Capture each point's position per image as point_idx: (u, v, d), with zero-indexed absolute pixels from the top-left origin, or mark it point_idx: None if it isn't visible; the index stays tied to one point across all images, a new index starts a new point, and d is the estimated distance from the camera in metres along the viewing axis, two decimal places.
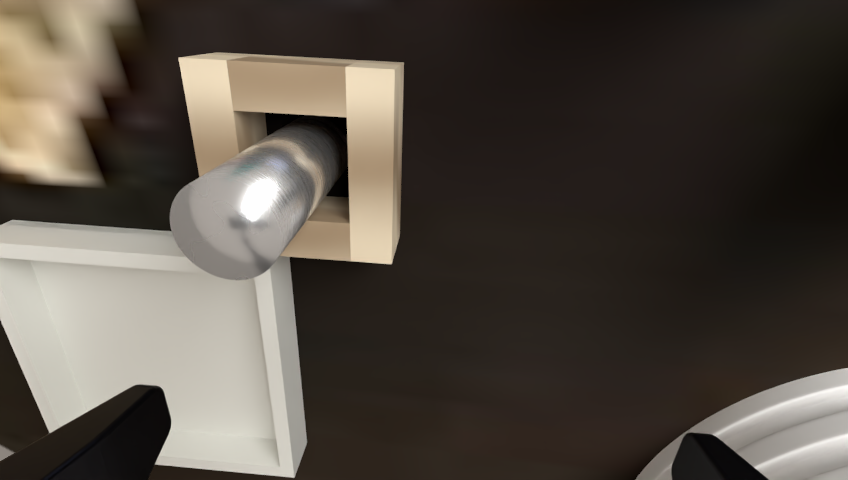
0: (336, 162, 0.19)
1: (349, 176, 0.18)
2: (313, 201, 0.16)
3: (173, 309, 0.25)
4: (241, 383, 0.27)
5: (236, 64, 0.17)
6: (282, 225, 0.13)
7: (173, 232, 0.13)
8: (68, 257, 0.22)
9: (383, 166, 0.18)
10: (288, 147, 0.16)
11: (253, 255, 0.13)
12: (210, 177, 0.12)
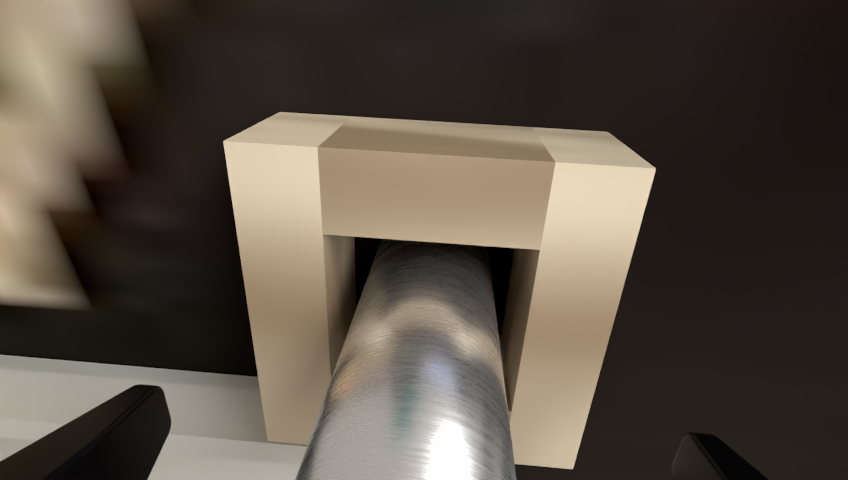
0: None
1: (525, 343, 0.10)
2: None
3: (194, 475, 0.17)
4: None
5: (336, 154, 0.09)
6: None
7: None
8: (30, 432, 0.13)
9: (592, 329, 0.10)
10: (457, 339, 0.08)
11: None
12: None
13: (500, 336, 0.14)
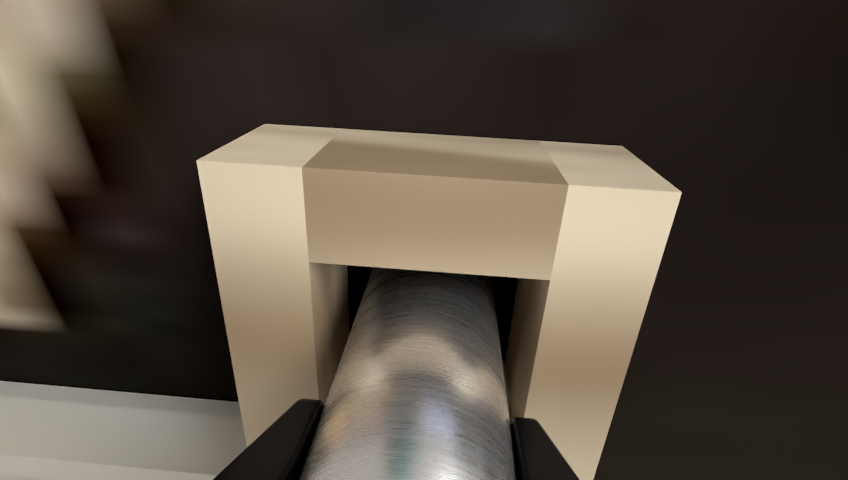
0: None
1: (533, 380, 0.09)
2: None
3: None
4: None
5: (323, 175, 0.08)
6: None
7: None
8: None
9: (607, 366, 0.09)
10: (458, 388, 0.07)
11: None
12: None
13: (504, 362, 0.13)
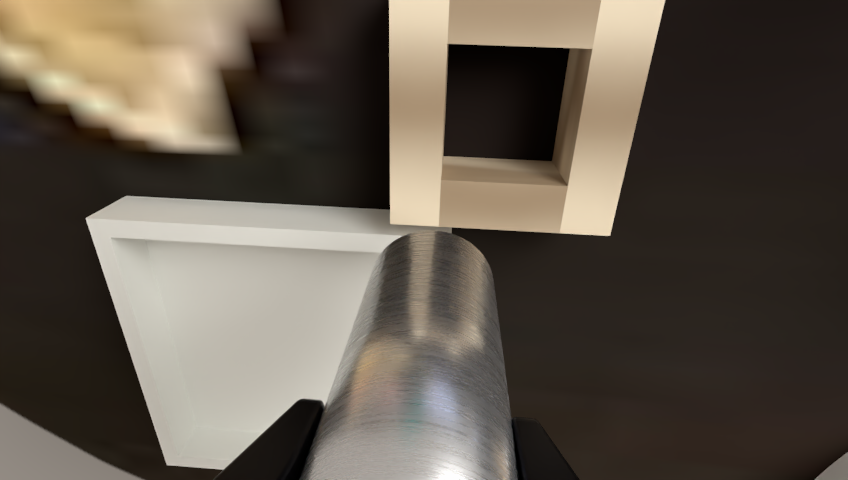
0: None
1: (580, 126, 0.15)
2: None
3: (308, 297, 0.22)
4: None
5: None
6: None
7: None
8: (207, 236, 0.18)
9: (626, 112, 0.15)
10: (460, 386, 0.07)
11: None
12: None
13: (551, 161, 0.18)
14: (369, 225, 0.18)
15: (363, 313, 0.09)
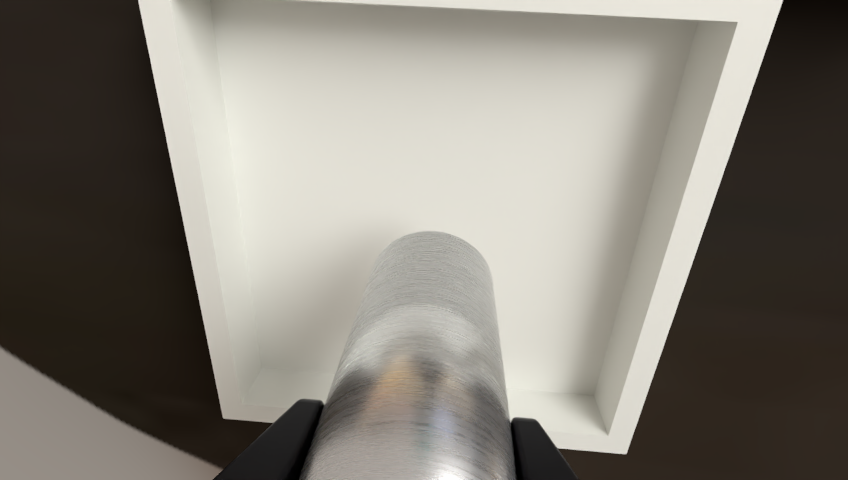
0: None
1: None
2: None
3: (466, 146, 0.14)
4: (544, 293, 0.16)
5: None
6: None
7: None
8: None
9: None
10: (458, 387, 0.07)
11: None
12: None
13: None
14: None
15: (362, 314, 0.09)
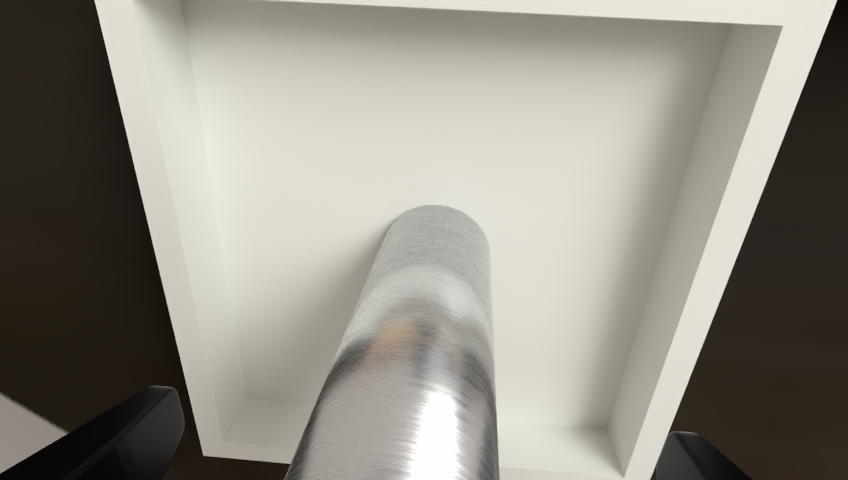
0: (491, 299, 0.11)
1: None
2: None
3: (468, 162, 0.12)
4: (554, 321, 0.14)
5: None
6: None
7: None
8: None
9: None
10: (449, 322, 0.08)
11: None
12: None
13: None
14: None
15: (374, 271, 0.11)
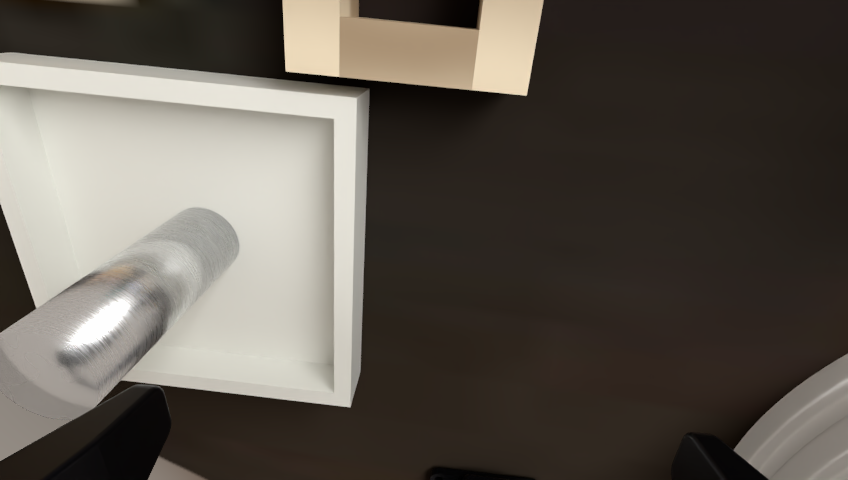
0: (211, 265, 0.19)
1: None
2: (164, 322, 0.16)
3: (214, 182, 0.20)
4: (290, 287, 0.22)
5: None
6: (100, 374, 0.13)
7: None
8: (87, 85, 0.16)
9: None
10: (141, 268, 0.16)
11: (72, 400, 0.13)
12: (18, 331, 0.12)
13: (475, 28, 0.17)
14: (271, 85, 0.17)
15: None
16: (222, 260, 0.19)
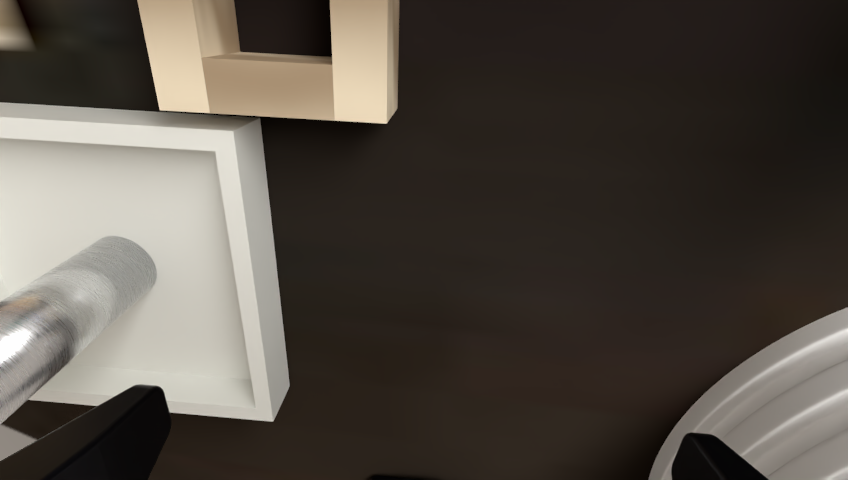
0: (121, 291, 0.20)
1: None
2: (64, 351, 0.17)
3: (124, 212, 0.21)
4: (209, 308, 0.23)
5: None
6: None
7: None
8: None
9: None
10: (39, 301, 0.17)
11: None
12: None
13: None
14: (157, 121, 0.18)
15: None
16: (135, 286, 0.20)
